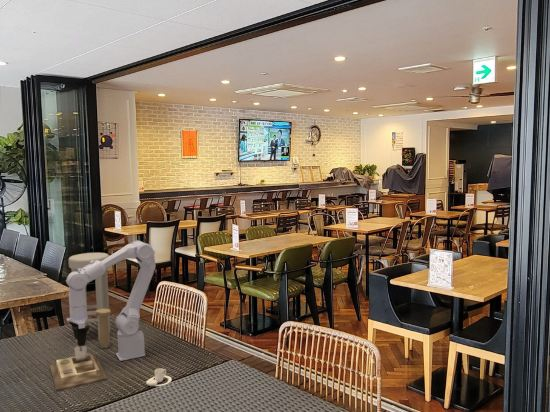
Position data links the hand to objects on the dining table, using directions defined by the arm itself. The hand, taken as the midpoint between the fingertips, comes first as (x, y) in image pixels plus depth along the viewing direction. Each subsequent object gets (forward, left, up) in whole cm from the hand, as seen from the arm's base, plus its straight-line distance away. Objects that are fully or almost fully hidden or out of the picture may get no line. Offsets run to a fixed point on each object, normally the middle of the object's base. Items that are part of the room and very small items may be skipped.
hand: (80, 342), depth 175 cm
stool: (-9, -30, -10) cm, 33 cm away
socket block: (+2, +5, -9) cm, 11 cm away
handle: (-11, -15, -10) cm, 21 cm away
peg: (0, 0, -9) cm, 9 cm away
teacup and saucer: (-19, +24, -10) cm, 32 cm away
